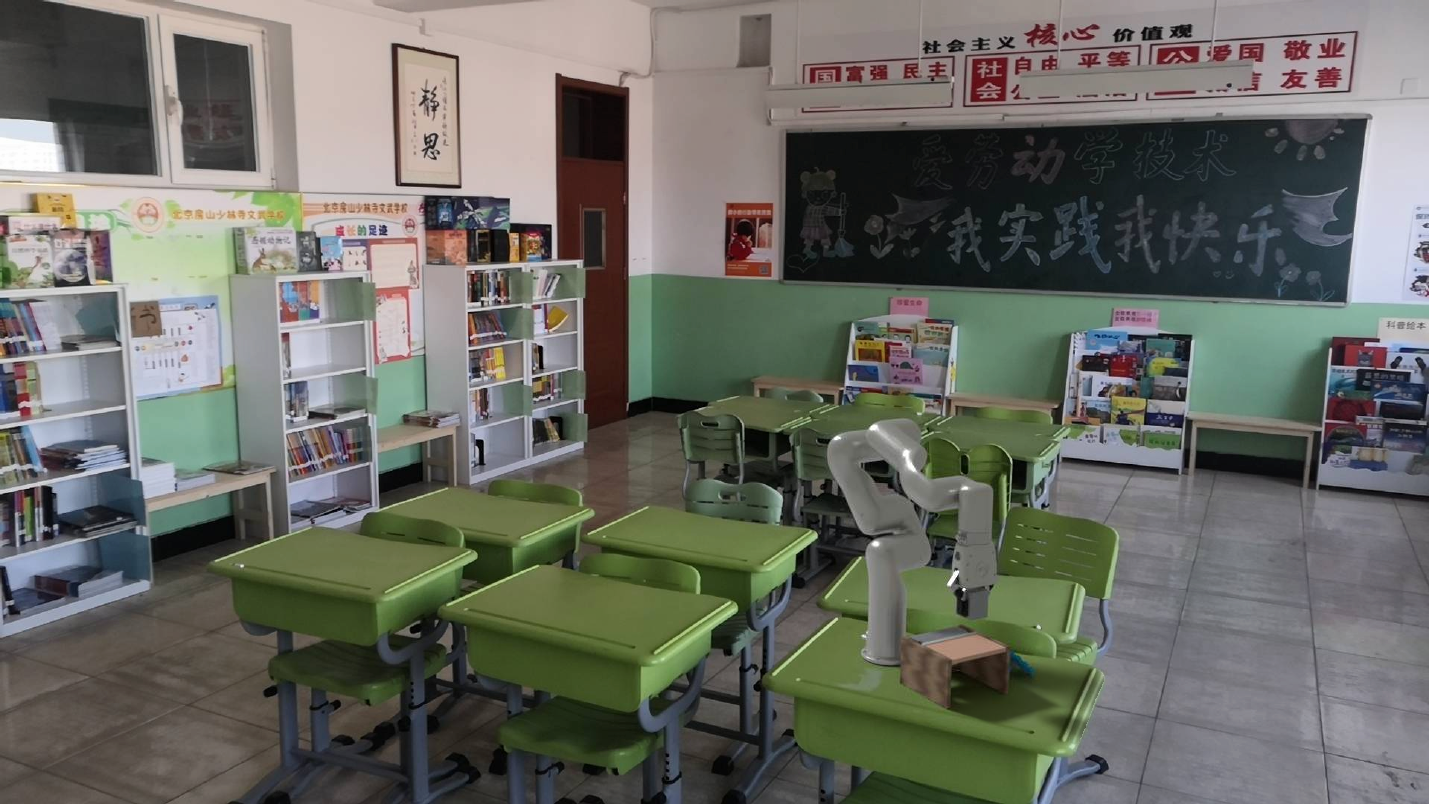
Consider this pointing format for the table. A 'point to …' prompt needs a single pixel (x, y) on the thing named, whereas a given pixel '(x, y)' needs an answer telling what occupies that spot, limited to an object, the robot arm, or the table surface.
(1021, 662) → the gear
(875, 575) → the robot arm
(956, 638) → the trapdoor
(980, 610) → the grey short rectangular block
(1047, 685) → the table surface
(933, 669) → the frame
